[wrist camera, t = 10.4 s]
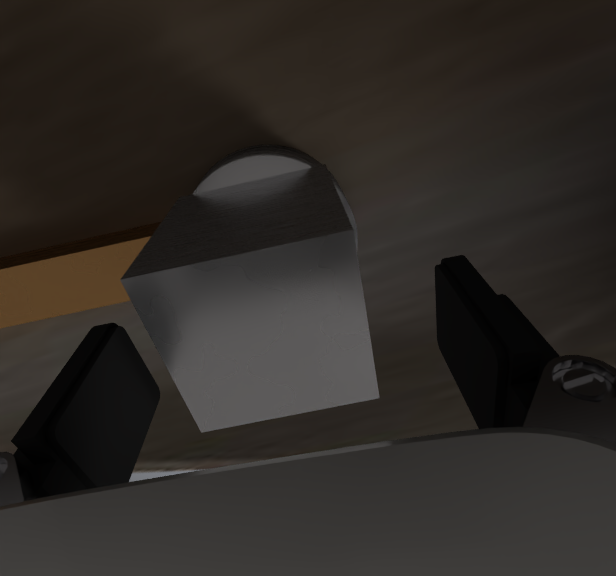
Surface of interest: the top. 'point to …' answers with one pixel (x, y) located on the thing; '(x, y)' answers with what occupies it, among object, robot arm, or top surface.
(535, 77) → the top surface
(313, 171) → the white block
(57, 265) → the hammer
